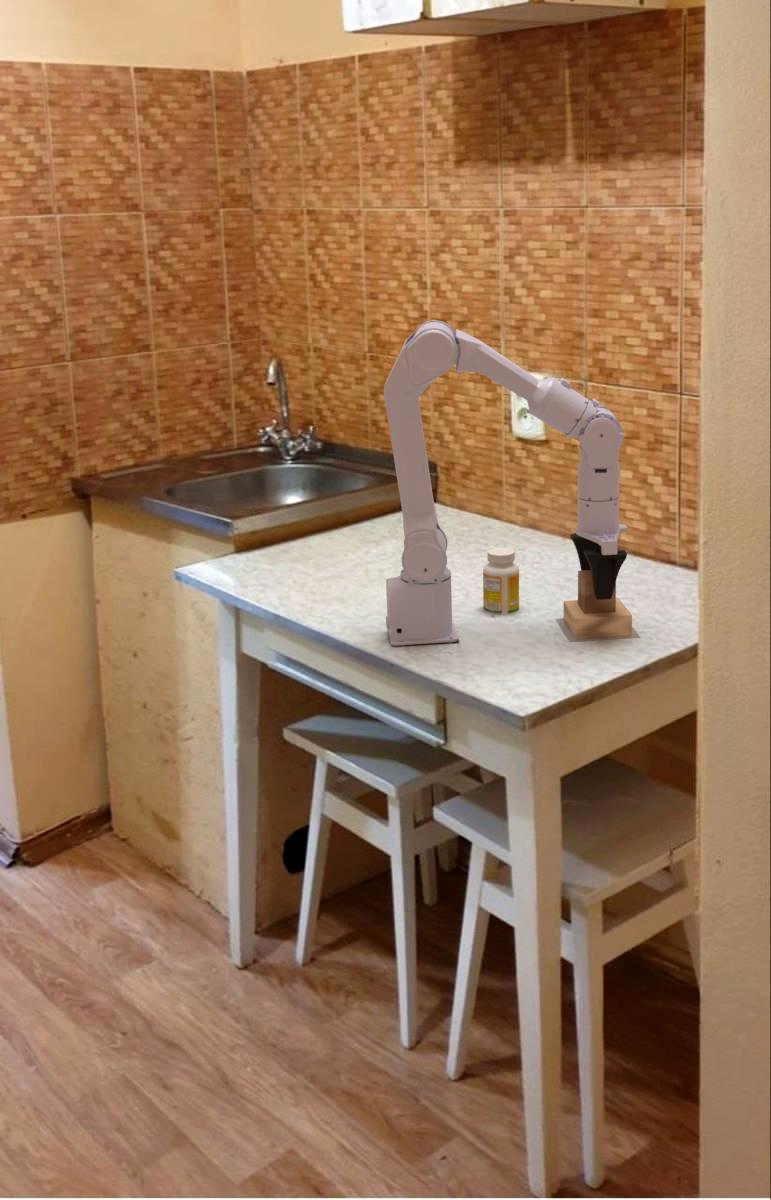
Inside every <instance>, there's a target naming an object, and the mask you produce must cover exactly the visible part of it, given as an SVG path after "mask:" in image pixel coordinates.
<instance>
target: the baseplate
mask: <svg viewBox="0 0 771 1200" xmlns="http://www.w3.org/2000/svg"><path fill="white" fill-rule="evenodd" d="M555 621H556V622H557V624H558V626H559V628H560V629H561V631H562V632H563V634H564V635H565V637H566V639H567V640H568V642H569V643H577V642H579V643H580V642H595V641H610V640H613V641H614V640H626V639H641V638H642V637H641V636H640V634H639V633H638V632H637V631H636V630H635V627H633V626H632V635H631V636H615V637H599V638H583V639H575V638H574V636H573V635H572V633H571V632H570V630H569V628H568V627H567V625H566V624H565V622H564V617H562V618H555Z"/></svg>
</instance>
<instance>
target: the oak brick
mask: <svg viewBox="0 0 771 1200" xmlns="http://www.w3.org/2000/svg"><path fill="white" fill-rule="evenodd" d="M563 618H564V622H565V624H566V625H567V627H568V628H569V630H570V632H571V633H572V635H573V636H574V638H575V639H583V638H599V637H615V636H631V635H632V627H633V615H632V613H631V611H629V609H628V608H627V607H626V605H624V603H623V602H622V600H621V599H620V598H619V597H616V612H607V613H591V614H584V612H583V611H582V609H581V608H580V606H579V605H578V599H574V600H563Z"/></svg>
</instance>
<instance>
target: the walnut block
mask: <svg viewBox="0 0 771 1200" xmlns="http://www.w3.org/2000/svg"><path fill="white" fill-rule="evenodd" d="M616 590H617V582H616V583H615V587H614V591H613V595H612V598H611V599H603V600H597V599H596V597H595V593H594V588H593V580H592V573H591V570H583V571H581V570H577V600H578V605H579V606H580V608H581V609H582V611H583V612H584V614H591V613H607V612H616V598H617V591H616Z"/></svg>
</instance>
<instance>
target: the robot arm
mask: <svg viewBox="0 0 771 1200" xmlns="http://www.w3.org/2000/svg"><path fill="white" fill-rule="evenodd" d="M455 365H456V366H455ZM453 366H455V367H456V369H455V370H456V373H458V374H459V373H461V374H462V373H475V372H476V373H479V374H481V375H482V376H484V377H486V378H488V379H489V380H491V381H493V382H495V383H496V384H498V385H500V386H502V387H504V388H505V389H507V390H509V391H510V392H513V393H514V394H516V395H517V396H519V397H520V398H523V399H524V400H526V401H527V406H528V407H527V408H528V411H529V413H530V415H531V416H534V417H535V419H536V418H537V419H538V420H540V421H541V422H543V423H544V424H546V425H548V426H550V427H551V428H553V429H554V430H556V431H557V432H559V433H560V434H562V435H564V436H565V437H567V438H576V439H577V441H578V442H579V446H578V448H579V451H578V452H579V454H578V455H579V457H578V459H579V460H578V463H577V498H576V499H577V514H576V515H577V521H576V522H577V525H576V527H575V532H574V533H570V539H571V540H572V543H573V545H574V547H575V550H576V553H577V555H578V556H577V557H578V561H579V566H580V571H583V570H591V573H592V580H593V588H594V593H595V597H596V599H597V600H603V599H611V598H612V595H613V591H614V587H615V583H616V584H617V579H618V575H619V572H620V570H621V568H622V566H623V564H624V562H625V561H626V559H627V556H628V552H627V551H626V550H623V549H622V550H621V549H620V550H619V549H618V538H619V537H620V534H622V533H627V532H628V525H626V524H624V523H623V524H621V523H620V483H621V482H620V481H621V479H620V472H621V464H620V462H619V461H620V460H619V459H620V448H621V446H622V444H623V441H624V438H625V434H624V433H623V429H622V425H621V424H620V422H619V420H618V419H617V417H616V416H615V414H614V413H613V412H612V411H610V410H609V408H607V407H606V406H605V405H600V401H598V400H597V399H595V398H592V399H591V400H590V399H588V398H587V397H585V396H584V395H583V394H581V393H579V392H578V391H576V390H574V389H573V388H571V387H570V386H571V382H570V381H569V380H567V379H565V378H564V377H562V378H560V380H559V379H557V378H555V377H546V378H544V379H539V378H537V377H535V376H534V375H532V374H531V373H530V372H528V371H527V370H526V369H523V368H522V367H521V366H519V365H517V364H516V363H514V362H513V361H511V360H510V359H508V358H507V357H505V356H504V355H502V354H501V353H500V352H498V351H497V350H495V349H493V347H490V346H489V345H488V344H486V343H485V342H483V341H481V340H480V339H478V338H477V337H474V336H472V335H471V334H468V333H466V332H465V331H462V330H459V329H456V330H455V331H454V329H453V328H452V327H451V326H450V325H449V324H448V323H446V322H444V321H442V320H435V319H433V320H429V321H428V320H427V321H425V322H423V323H422V324H420V325H419V326H418V327H417V328H416V329H415V330H414V331H413V332H412V333H410V335H409V336H408V337H407V338H406V339H405V341H404V343H403V345H402V348H401V349H400V351H399V354H398V356H397V358H396V360H395V362H394V364H393V366H392V368H391V370H390V372H389V374H388V377H387V379H386V380H385V383H384V386H383V397H384V398H383V399H384V404H385V411H386V417H387V422H388V429H389V434H390V435H389V436H390V442H391V447H392V448H391V449H392V454H393V460H394V461H393V462H394V469H395V475H396V479H397V486H398V493H399V499H400V506H401V512H402V522H403V535H404V538H403V551H402V554H401V561H400V562H401V566H402V569H401V570H400V574H399V576H395V577H390V578H386V579H385V582H386V583H385V586H386V588H385V590H386V591H385V592H386V614H387V615H386V616H385V627H386V629H387V631H388V636H389V641H390V644H391V645H392V646H408V645H426V644H427V645H428V644H439V643H442V644H443V643H456V642H458V641H459V636H458V634H457V631H456V629H455V626H454V624H453V609H452V608H453V605H452V604H453V603H452V597H453V596H452V572H451V570H450V569H449V568H448V567H447V565H448V556H447V550H448V538H447V535H446V533H445V532H444V530H443V529H442V527H441V526H440V524H439V521H438V515H437V511H436V507H435V501H434V495H433V488H432V487H433V485H432V482H431V481H432V480H431V476H430V475H431V474H430V467H429V460H428V454H427V448H426V447H427V445H426V440H425V439H426V438H425V434H424V427H423V420H422V415H421V407H420V401H419V397H420V396H421V395H422V394H423V393H424V391H426V389H427V387H428V386H429V385H430V384H431V383H432V382H433V381H435V380H436V379H437V378H440V377H441V376H443V375H445V373H447V372H448V371H450V370H451V369H452V367H453Z"/></svg>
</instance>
